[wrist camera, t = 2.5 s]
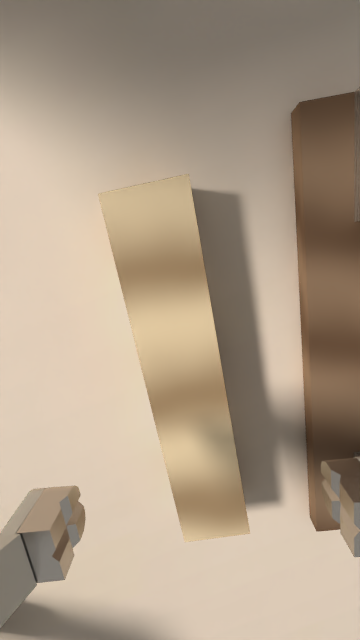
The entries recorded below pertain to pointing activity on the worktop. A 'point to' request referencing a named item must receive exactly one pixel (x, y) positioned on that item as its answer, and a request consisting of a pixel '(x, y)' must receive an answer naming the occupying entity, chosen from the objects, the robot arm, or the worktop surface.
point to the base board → (327, 285)
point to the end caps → (357, 169)
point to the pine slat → (178, 350)
